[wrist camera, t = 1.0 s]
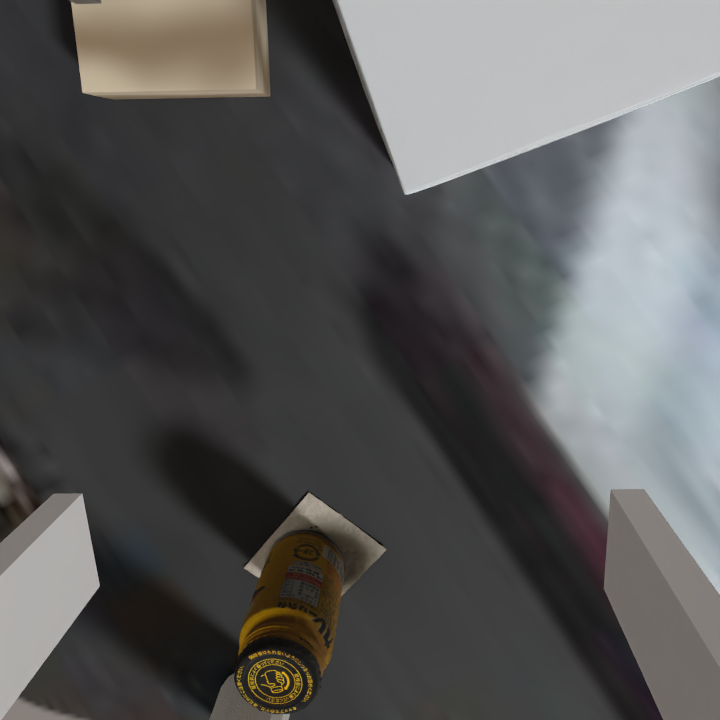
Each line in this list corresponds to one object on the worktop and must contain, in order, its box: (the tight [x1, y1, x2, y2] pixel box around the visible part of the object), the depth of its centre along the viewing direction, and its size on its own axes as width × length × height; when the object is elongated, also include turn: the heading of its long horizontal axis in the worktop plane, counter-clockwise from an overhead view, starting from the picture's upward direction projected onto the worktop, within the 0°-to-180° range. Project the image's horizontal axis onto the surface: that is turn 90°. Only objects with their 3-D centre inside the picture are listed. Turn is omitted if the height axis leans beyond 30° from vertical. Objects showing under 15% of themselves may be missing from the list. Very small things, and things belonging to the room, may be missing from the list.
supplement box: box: [333, 0, 720, 194], centre depth 30 cm, size 13×13×18 cm
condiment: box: [234, 493, 386, 714], centre depth 44 cm, size 7×8×12 cm
